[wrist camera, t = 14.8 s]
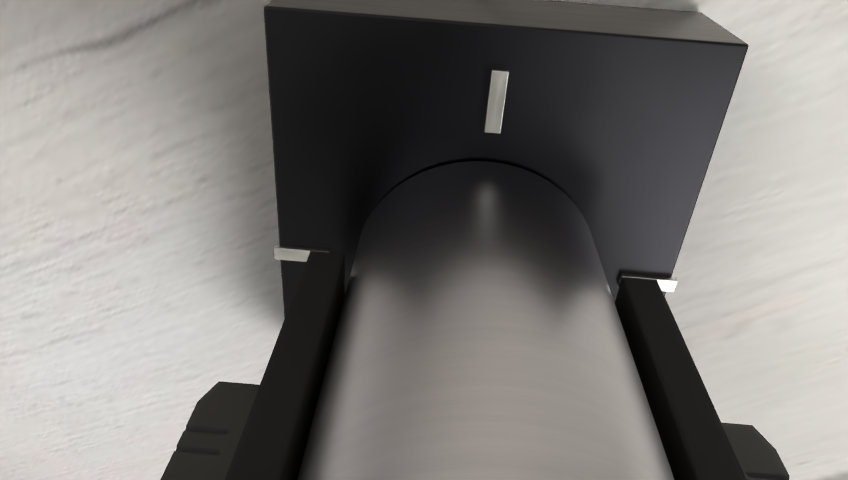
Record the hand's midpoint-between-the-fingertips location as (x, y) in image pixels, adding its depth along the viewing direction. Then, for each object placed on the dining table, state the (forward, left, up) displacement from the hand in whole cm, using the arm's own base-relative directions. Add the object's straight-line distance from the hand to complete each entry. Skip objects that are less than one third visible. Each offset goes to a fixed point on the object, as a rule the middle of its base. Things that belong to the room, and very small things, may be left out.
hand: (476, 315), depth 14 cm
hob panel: (0, 0, -5) cm, 5 cm away
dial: (0, 0, -2) cm, 2 cm away
